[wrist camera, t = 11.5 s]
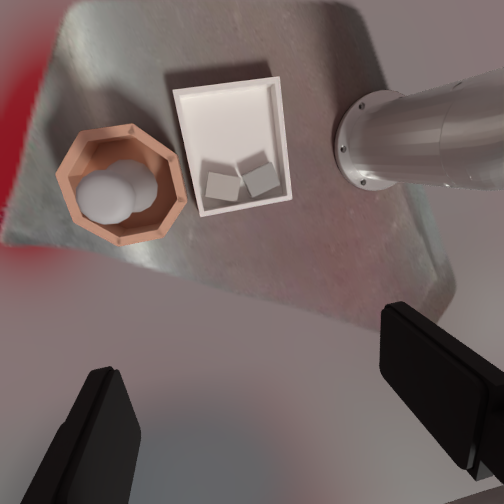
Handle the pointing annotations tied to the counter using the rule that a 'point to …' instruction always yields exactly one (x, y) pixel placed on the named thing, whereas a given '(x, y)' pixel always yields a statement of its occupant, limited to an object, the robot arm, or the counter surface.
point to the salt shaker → (116, 191)
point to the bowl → (122, 148)
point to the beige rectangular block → (222, 186)
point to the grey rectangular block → (260, 179)
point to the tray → (234, 138)
